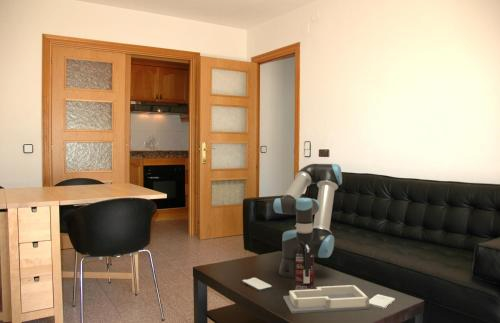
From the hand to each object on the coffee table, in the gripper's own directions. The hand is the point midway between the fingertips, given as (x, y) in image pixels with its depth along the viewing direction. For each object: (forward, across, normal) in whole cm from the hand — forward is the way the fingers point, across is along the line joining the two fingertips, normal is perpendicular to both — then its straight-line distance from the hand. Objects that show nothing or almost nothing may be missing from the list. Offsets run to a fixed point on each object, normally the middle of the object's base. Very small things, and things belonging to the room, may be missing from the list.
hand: (304, 280), depth 186 cm
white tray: (+5, +15, +4) cm, 17 cm away
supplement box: (+4, 0, 0) cm, 4 cm away
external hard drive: (+6, +18, +29) cm, 34 cm away
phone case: (+6, -12, -21) cm, 25 cm away
